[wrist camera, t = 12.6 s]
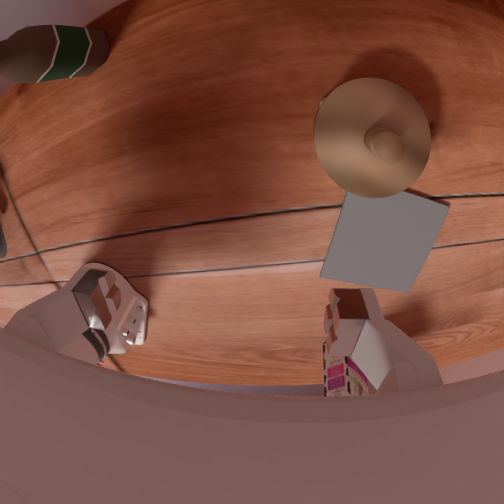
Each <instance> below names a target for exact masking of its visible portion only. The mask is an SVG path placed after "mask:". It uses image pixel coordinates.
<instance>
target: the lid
mask: <svg viewBox="0 0 504 504" xmlns="http://www.w3.org/2000/svg"><path fill="white" fill-rule="evenodd" d="M313 138H314V145H315V150H316V153H317V156H318V158H319V161H320V163H321V165H322V167H323V168H324V170H325V171H326V173H327V174H328V175H329V177H330V178H331V179H332V180H333V181H334V182H335V183H336V184H338V185H339V186H340V187H342V188H343V189H344V190H346V191H348V192H350V193H352V194H355V195H358V196H361V197H366V198H384V197H389V196H392V195H395V194H397V193H400V192H402V191H403V190H405V189H407V188H408V187H409V186H410V185H412V184H413V183H414V182H415V181H416V180H417V179H418V177H419V176H420V175H421V173H422V172H423V170H424V168H425V166H426V164H427V161H428V158H429V154H430V149H431V132H430V127H429V123H428V120H427V117H426V115H425V113H424V111H423V109H422V107H421V106H420V104H419V103H418V101H417V100H416V99H415V98H414V97H413V96H412V95H411V94H410V93H409V92H408V91H407V90H405V89H404V88H402V87H401V86H399V85H397V84H395V83H393V82H391V81H388V80H385V79H380V78H359V79H354V80H351V81H348V82H345V83H343V84H341V85H340V86H338V87H336V88H335V89H334V90H333V91H331V92H330V93H329V94H328V96H327V97H326V98H325V99H324V101H323V102H322V103H321V105H320V107H319V109H318V111H317V114H316V117H315V121H314V127H313Z"/></svg>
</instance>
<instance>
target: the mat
mask: <svg viewBox="0 0 504 504" xmlns="http://www.w3.org/2000/svg"><path fill="white" fill-rule="evenodd" d="M449 208H450V207H449V206H448V205H445V204H442V203H439V202H437V201H434V200H431V199H428V198H425V197H422V196H420V195H417V194H414V193H411V192H407V191H404V190H403V191H402V192H400V193H397V194H395V195H392V196H389V197H384V198H366V197H361V196H358V195H355V194H352V193H350V192H348V191H347V192H346V195H345V199H344V202H343V205H342V209H341V212H340V215H339V218H338V222H337V225H336V228H335V231H334V234H333V237H332V240H331V243H330V246H329V249H328V252H327V255H326V258H325V261H324V264H323V267H322V270H321V272H320V277H321V278H327V279H332V280H338V281H344V282H349V283H355V284H360V285H366V286H372V287H377V288H383V289H389V290H395V291H400V292H406V293H408V292H409V291H410V289H411V287H412V285H413V283H414V282H415V280H416V278H417V276H418V274H419V272H420V270H421V269H422V267H423V265H424V263H425V261H426V259H427V257H428V255H429V253H430V251H431V249H432V247H433V244H434V242H435V240H436V238H437V236H438V234H439V231H440V229H441V227H442V225H443V222H444V220H445V217H446V215H447V213H448V210H449Z"/></svg>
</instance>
